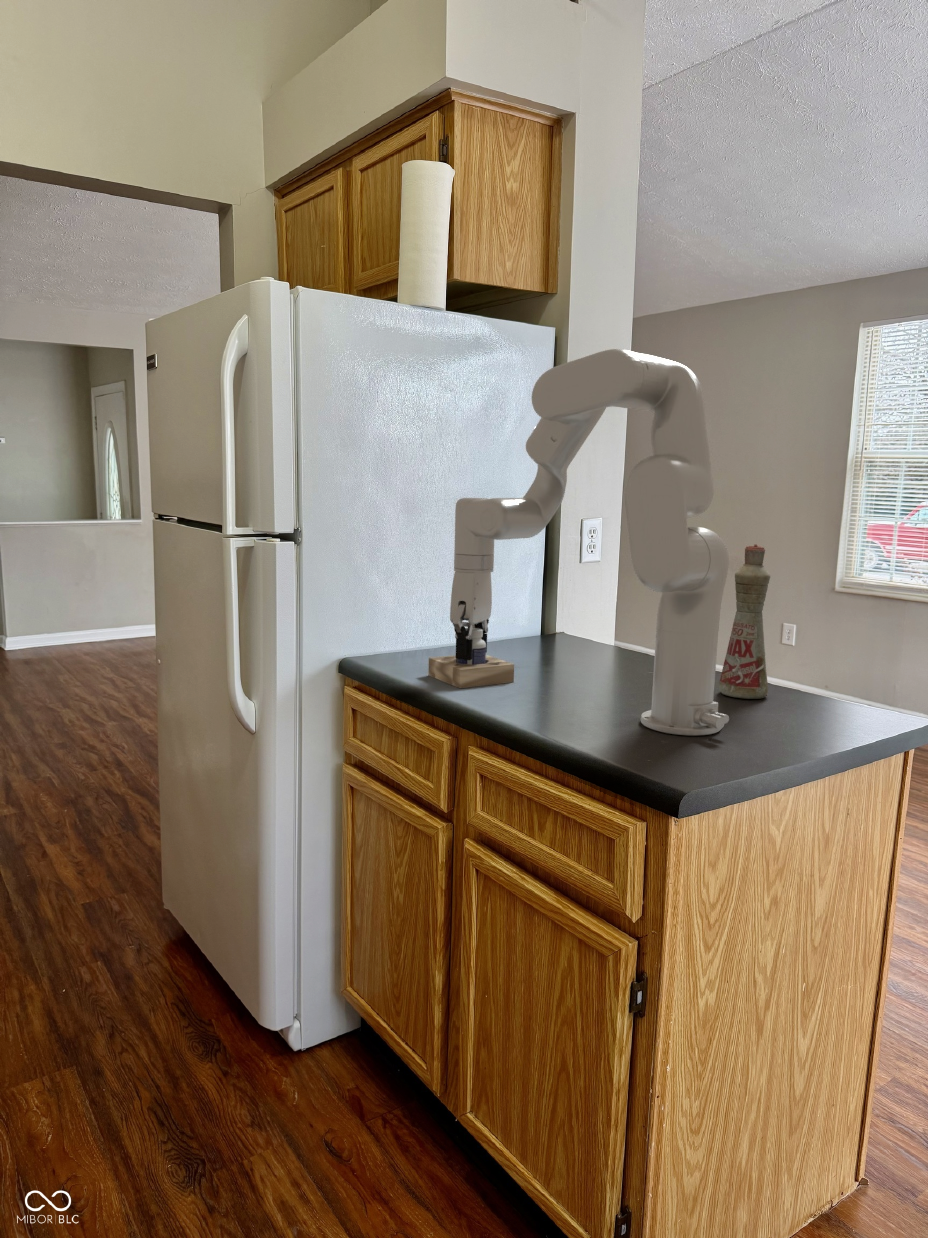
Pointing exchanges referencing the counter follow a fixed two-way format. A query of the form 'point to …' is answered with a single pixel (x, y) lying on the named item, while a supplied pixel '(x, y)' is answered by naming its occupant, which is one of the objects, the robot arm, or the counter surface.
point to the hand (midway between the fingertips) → (471, 655)
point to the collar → (471, 671)
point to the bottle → (747, 632)
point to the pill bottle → (476, 648)
